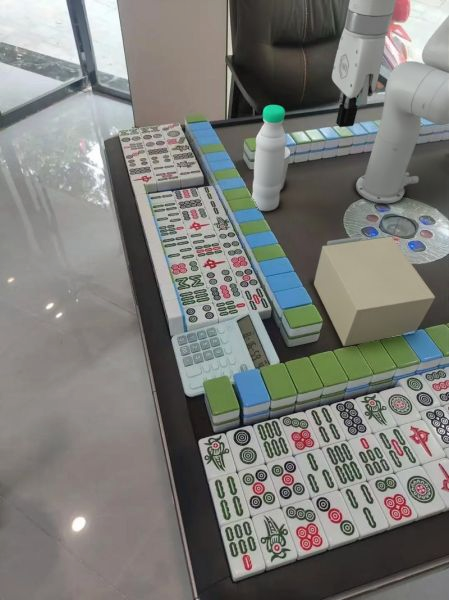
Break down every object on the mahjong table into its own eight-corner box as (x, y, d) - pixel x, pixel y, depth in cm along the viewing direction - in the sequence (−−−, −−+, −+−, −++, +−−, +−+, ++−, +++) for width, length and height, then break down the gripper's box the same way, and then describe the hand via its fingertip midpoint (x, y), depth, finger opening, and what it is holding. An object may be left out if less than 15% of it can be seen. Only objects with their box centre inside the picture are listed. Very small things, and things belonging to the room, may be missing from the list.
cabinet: (313, 283, 93) (322, 246, 85) (377, 274, 95) (391, 236, 87) (343, 346, 82) (357, 310, 74) (414, 334, 84) (435, 297, 76)
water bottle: (276, 214, 109) (289, 117, 90) (249, 210, 110) (255, 113, 91) (280, 198, 113) (292, 102, 95) (253, 194, 114) (260, 99, 95)
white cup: (255, 177, 120) (257, 143, 112) (283, 176, 120) (287, 142, 113) (258, 194, 114) (261, 160, 107) (288, 192, 115) (293, 158, 107)
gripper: (331, 10, 78) (314, 110, 92) (365, 38, 69) (341, 145, 83) (369, 8, 80) (347, 107, 93) (408, 35, 70) (377, 141, 84)
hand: (344, 124), depth 88 cm, fingers closed
